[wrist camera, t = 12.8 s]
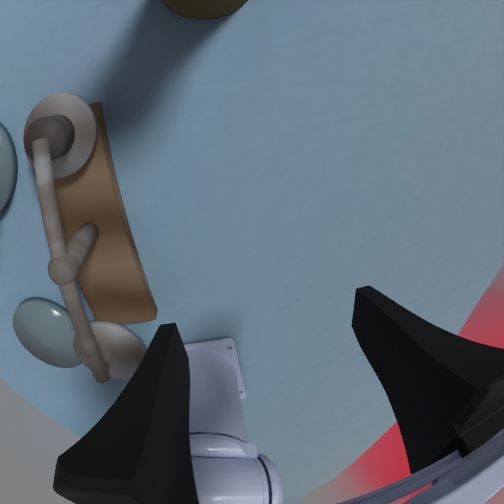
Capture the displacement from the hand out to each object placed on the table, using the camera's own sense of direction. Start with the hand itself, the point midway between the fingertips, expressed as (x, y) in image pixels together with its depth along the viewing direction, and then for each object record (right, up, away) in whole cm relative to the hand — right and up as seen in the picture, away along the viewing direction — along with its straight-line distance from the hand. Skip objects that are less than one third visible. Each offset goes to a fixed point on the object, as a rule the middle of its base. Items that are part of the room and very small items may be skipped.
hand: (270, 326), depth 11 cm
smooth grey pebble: (-19, -5, +11) cm, 23 cm away
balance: (-12, +5, +7) cm, 15 cm away
